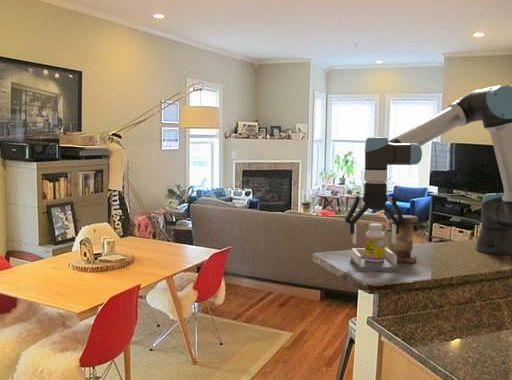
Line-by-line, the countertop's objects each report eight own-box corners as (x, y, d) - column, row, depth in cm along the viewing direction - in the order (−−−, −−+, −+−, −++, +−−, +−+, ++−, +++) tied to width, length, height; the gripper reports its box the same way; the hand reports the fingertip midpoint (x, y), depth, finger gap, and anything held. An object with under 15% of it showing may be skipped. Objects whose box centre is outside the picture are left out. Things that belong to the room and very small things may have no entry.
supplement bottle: (360, 259, 170) (361, 223, 169) (376, 257, 173) (377, 222, 172) (372, 263, 164) (373, 226, 163) (388, 261, 167) (389, 225, 166)
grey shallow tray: (386, 260, 176) (387, 248, 175) (399, 271, 160) (399, 258, 159) (351, 260, 176) (351, 247, 175) (360, 271, 160) (360, 258, 159)
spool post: (411, 257, 180) (413, 215, 179) (419, 263, 171) (421, 218, 170) (387, 257, 180) (388, 214, 179) (394, 263, 171) (395, 218, 170)
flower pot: (381, 253, 186) (381, 231, 186) (386, 249, 195) (387, 227, 194) (406, 256, 182) (406, 233, 181) (410, 251, 190) (411, 229, 190)
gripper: (408, 181, 170) (406, 241, 172) (337, 181, 170) (336, 240, 172) (415, 183, 162) (413, 245, 164) (341, 183, 162) (339, 245, 164)
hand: (374, 243), depth 168 cm, fingers open, 13 cm apart
